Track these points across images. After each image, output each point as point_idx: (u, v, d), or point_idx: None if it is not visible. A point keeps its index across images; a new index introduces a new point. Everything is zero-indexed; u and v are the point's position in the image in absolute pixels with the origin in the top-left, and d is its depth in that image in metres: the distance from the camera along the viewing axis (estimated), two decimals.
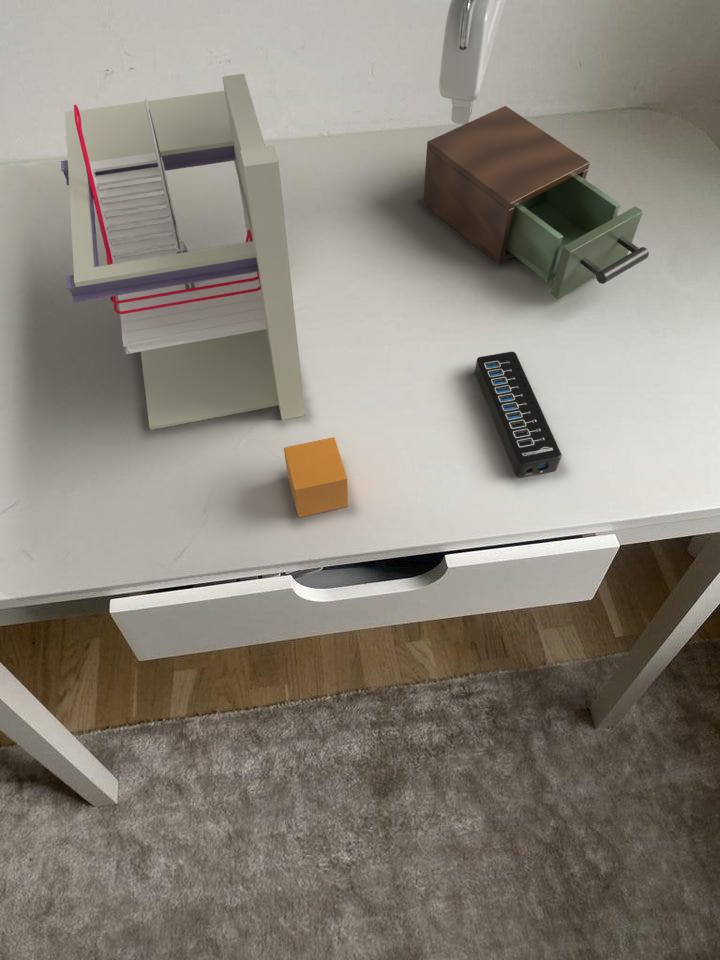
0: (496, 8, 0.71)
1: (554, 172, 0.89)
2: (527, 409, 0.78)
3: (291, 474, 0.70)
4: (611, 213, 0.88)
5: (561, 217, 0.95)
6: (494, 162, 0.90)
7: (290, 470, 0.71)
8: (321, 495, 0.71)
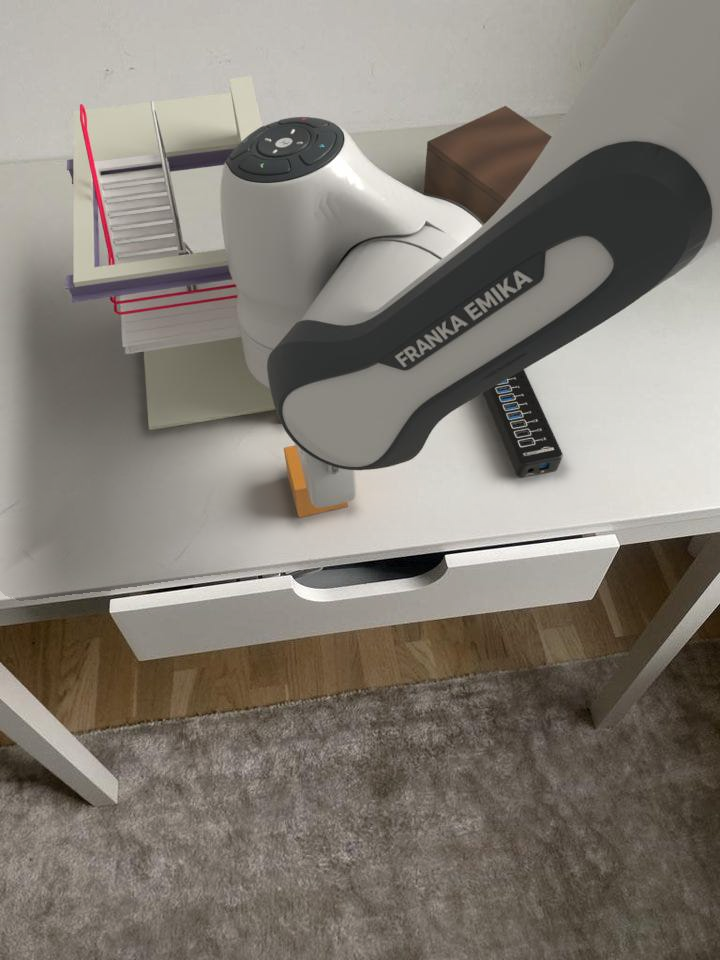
0: None
1: None
2: (528, 409, 0.78)
3: (291, 474, 0.70)
4: None
5: None
6: (494, 162, 0.90)
7: (290, 470, 0.71)
8: None
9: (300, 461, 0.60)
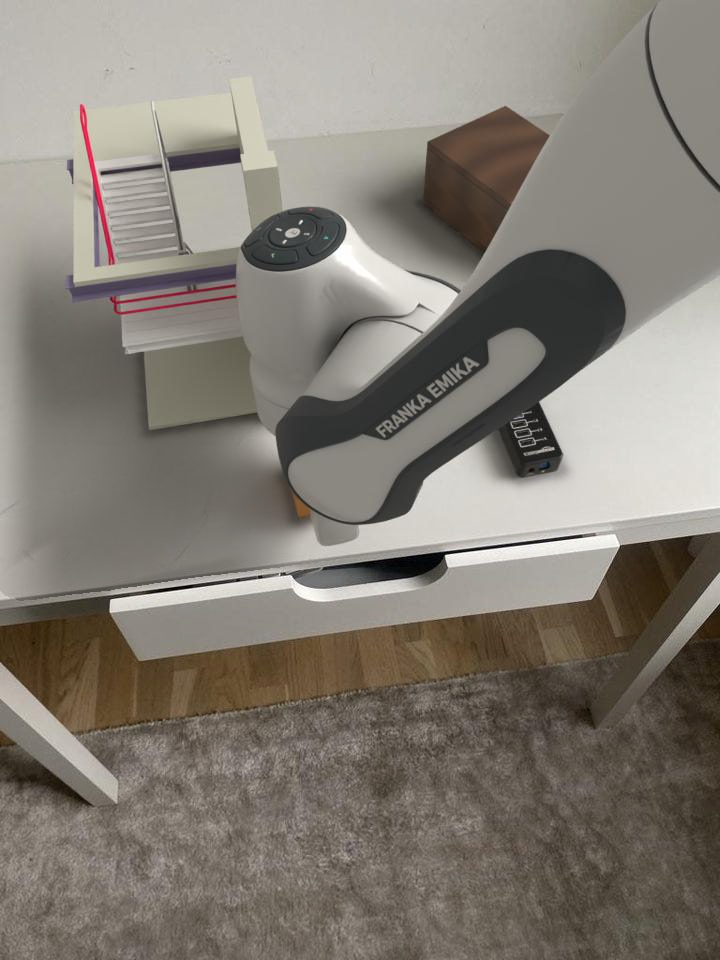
0: None
1: None
2: None
3: None
4: None
5: None
6: (494, 162, 0.90)
7: None
8: None
9: None
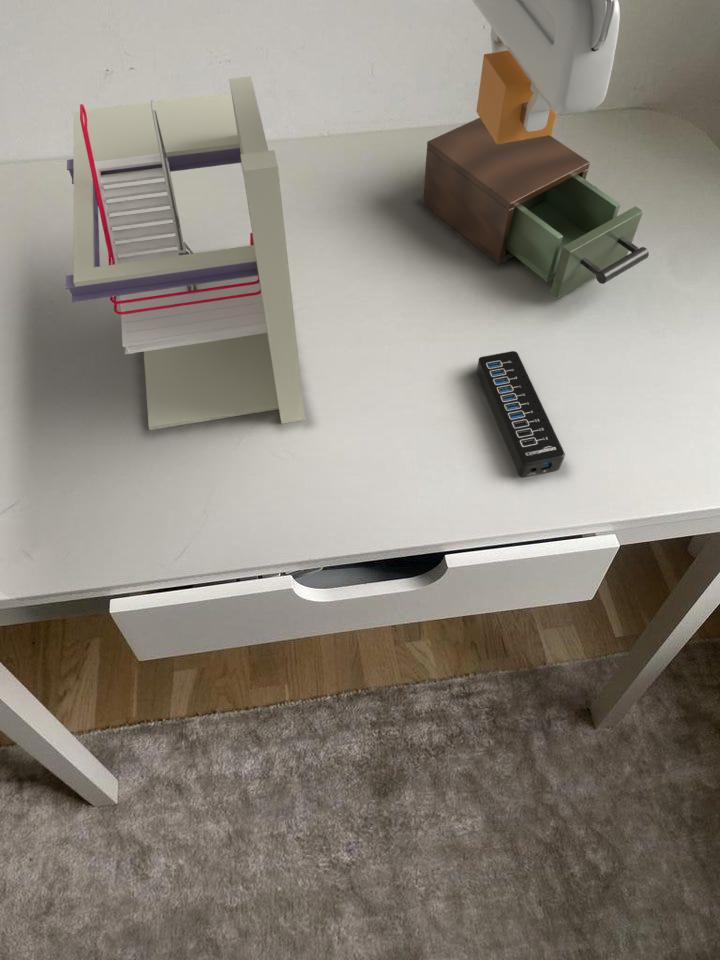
0: None
1: (554, 172, 0.89)
2: (529, 408, 0.78)
3: (498, 74, 0.61)
4: (611, 213, 0.88)
5: (561, 217, 0.95)
6: (494, 162, 0.90)
7: (496, 71, 0.61)
8: None
9: (537, 72, 0.56)
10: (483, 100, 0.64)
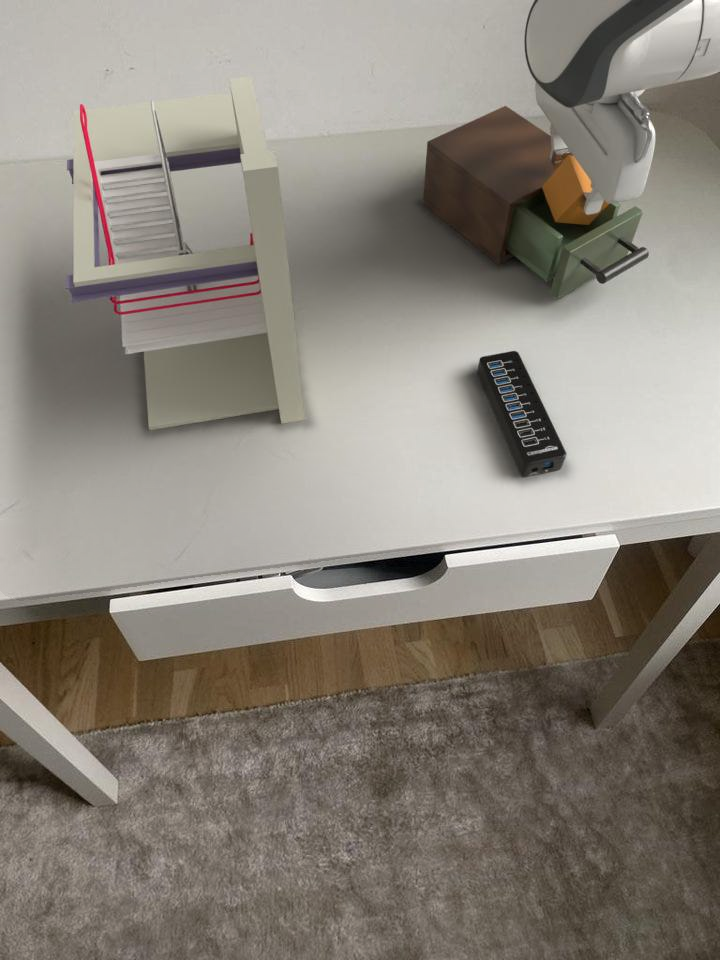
0: None
1: None
2: (531, 408, 0.78)
3: (578, 178, 0.82)
4: (611, 213, 0.88)
5: None
6: (494, 162, 0.90)
7: (577, 175, 0.82)
8: None
9: (593, 171, 0.77)
10: (553, 184, 0.85)
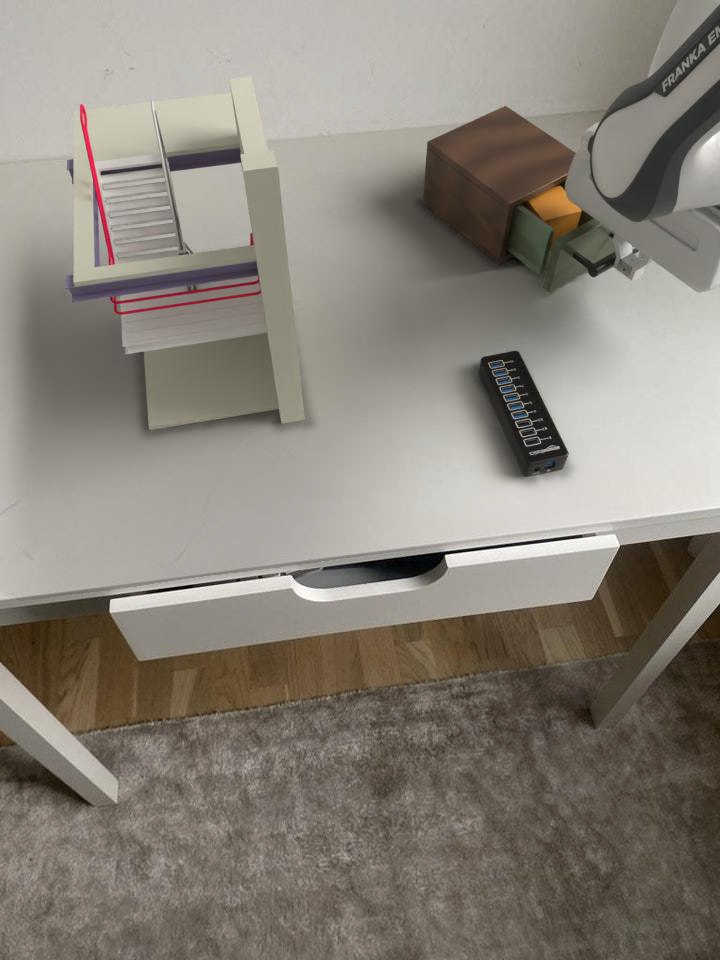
0: None
1: (554, 172, 0.89)
2: (532, 408, 0.78)
3: (536, 211, 0.88)
4: None
5: None
6: (494, 162, 0.90)
7: (534, 208, 0.88)
8: (559, 229, 0.89)
9: (675, 265, 0.77)
10: None
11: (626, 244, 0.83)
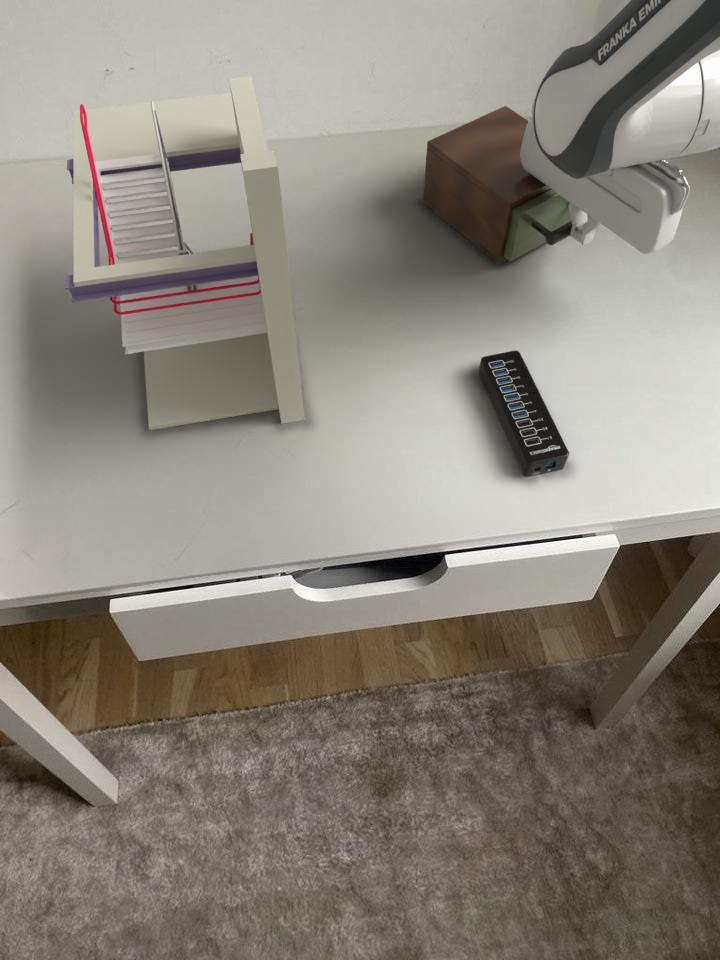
0: None
1: None
2: (533, 407, 0.78)
3: None
4: None
5: None
6: (494, 162, 0.90)
7: None
8: None
9: (622, 227, 0.80)
10: None
11: (581, 213, 0.86)
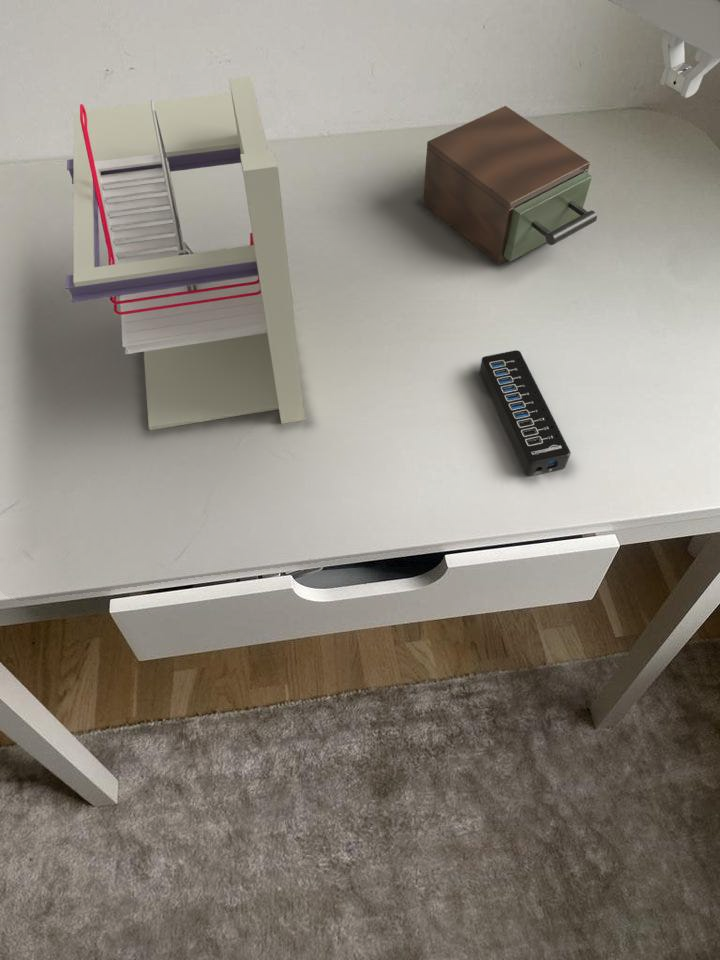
0: None
1: (554, 172, 0.89)
2: (534, 407, 0.78)
3: None
4: None
5: None
6: (494, 162, 0.90)
7: None
8: None
9: None
10: None
11: (678, 49, 0.67)
